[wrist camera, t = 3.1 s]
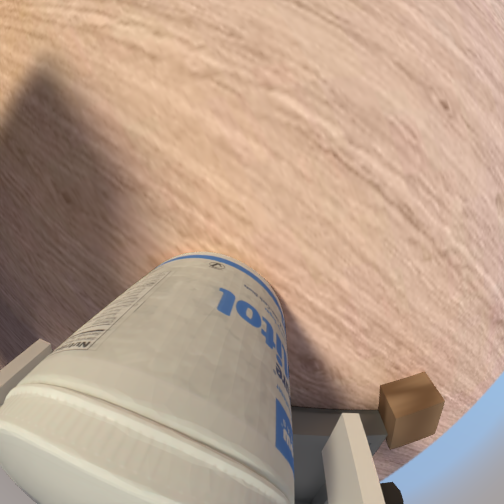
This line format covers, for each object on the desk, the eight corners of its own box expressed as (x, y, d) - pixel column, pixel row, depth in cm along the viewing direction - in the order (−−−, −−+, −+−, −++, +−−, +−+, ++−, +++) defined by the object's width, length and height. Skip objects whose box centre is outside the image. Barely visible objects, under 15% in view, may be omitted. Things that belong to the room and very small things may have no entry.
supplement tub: (313, 327, 18) (367, 555, 4) (211, 395, 20) (165, 573, 6) (208, 212, 17) (-4, 352, 2) (115, 306, 19) (-27, 450, 4)
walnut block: (377, 417, 20) (389, 449, 16) (380, 384, 19) (396, 418, 15) (418, 404, 20) (434, 433, 16) (424, 370, 19) (444, 400, 15)
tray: (171, 482, 24) (165, 501, 21) (168, 384, 20) (157, 409, 17) (316, 499, 24) (317, 518, 21) (377, 410, 20) (387, 434, 17)
